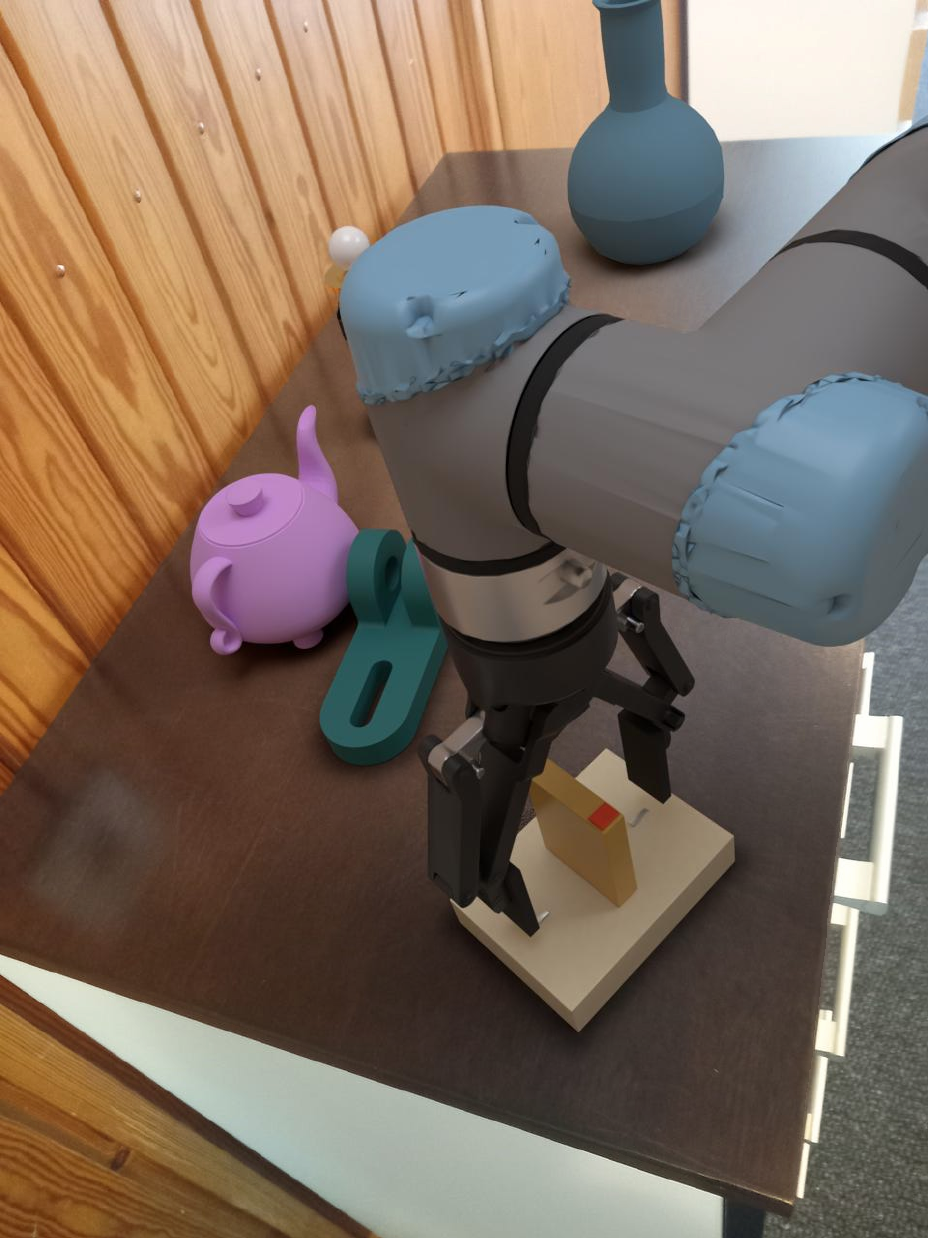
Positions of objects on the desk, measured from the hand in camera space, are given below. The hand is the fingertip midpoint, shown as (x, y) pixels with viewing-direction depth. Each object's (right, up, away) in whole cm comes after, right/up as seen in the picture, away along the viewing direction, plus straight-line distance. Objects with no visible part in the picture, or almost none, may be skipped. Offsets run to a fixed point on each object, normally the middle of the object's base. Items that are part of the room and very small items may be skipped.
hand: (586, 850), depth 59 cm
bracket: (-12, +9, +20) cm, 25 cm away
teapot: (-21, +15, +28) cm, 38 cm away
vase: (+14, +55, +55) cm, 79 cm away
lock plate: (+1, -3, +4) cm, 5 cm away
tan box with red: (0, -1, +1) cm, 2 cm away
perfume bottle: (-13, +33, +42) cm, 54 cm away
